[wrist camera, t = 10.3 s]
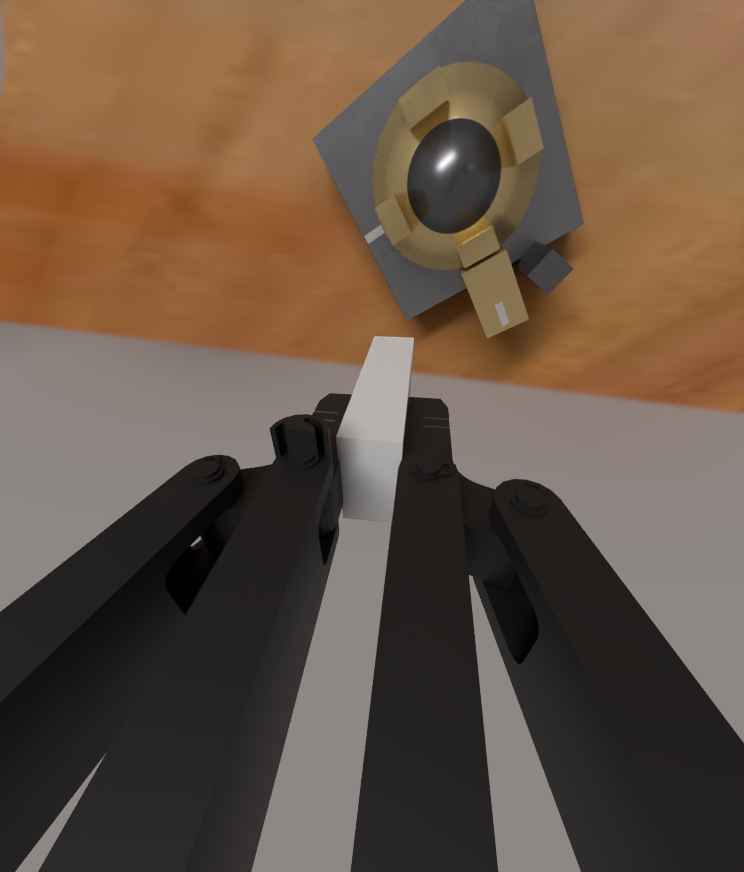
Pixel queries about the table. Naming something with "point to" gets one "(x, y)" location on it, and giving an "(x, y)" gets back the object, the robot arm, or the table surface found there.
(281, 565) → the robot arm
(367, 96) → the housing
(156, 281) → the table surface
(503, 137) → the brass ring with ball
